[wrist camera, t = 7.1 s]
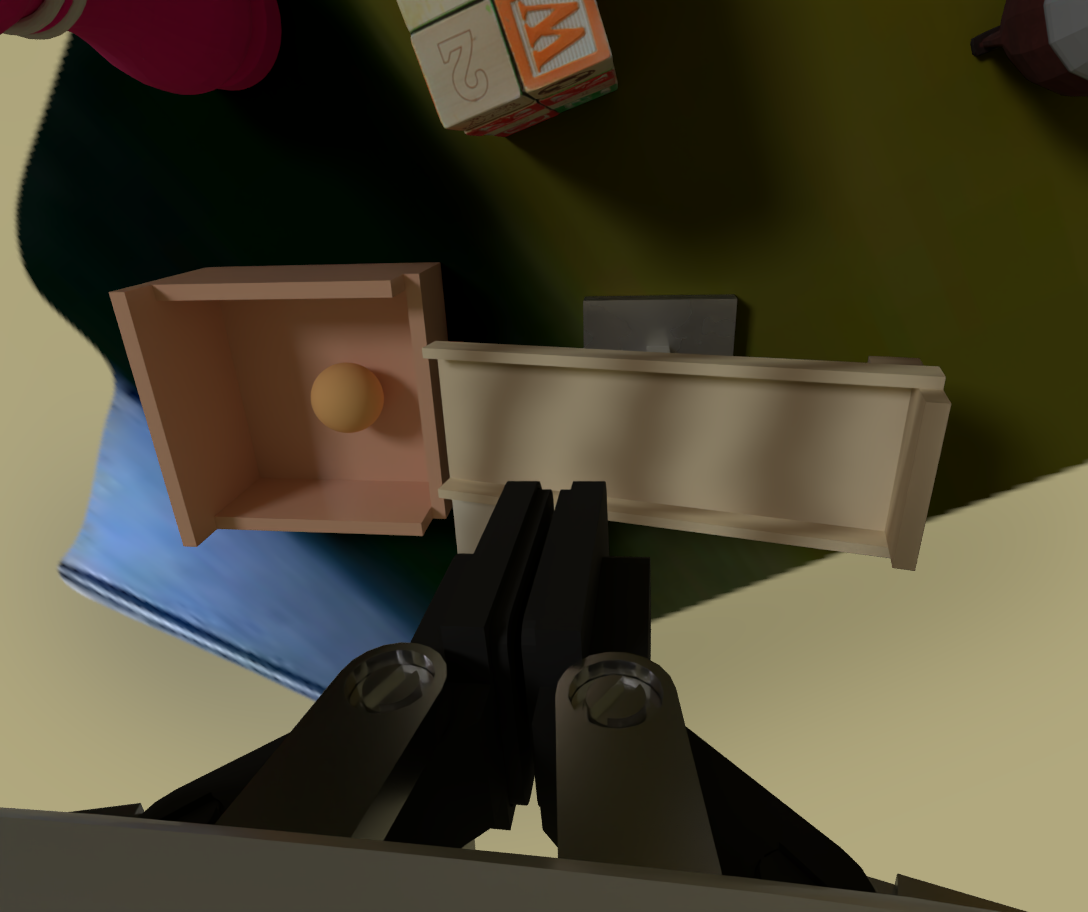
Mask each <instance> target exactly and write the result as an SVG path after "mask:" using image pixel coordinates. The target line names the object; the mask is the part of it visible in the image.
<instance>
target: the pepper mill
mask: <svg viewBox="0 0 1088 912" xmlns="http://www.w3.org/2000/svg"><path fill="white" fill-rule="evenodd" d="M66 31H69V32H72V33H74V34H76V35H77V36H79V37H81V38H82V39H83V40H85V41H86V42H87V43H88V44H90V45H91V46H92V47H93V48H94V49H95V50H96V51H98V52H99V53H100V54H101V55H102V56H103V57H104V58H105V59H106V60H108V61H109V62H110V63H111V64H112V65H113V66H115V67H117V68H118V69H120V70H121V71H123V72H125V73H126V74H128V75H130V76H131V77H133V78H135V79H137V80H138V81H140V82H142V83H144V84H146V85H149V86H152V87H155V88H158V89H161V90H164V91H168V92H172V93H177V94H182V95H194V94H201V93H205V92H209V91H212V90H214V89H216V88H217V89H223V90H232V91H233V90H242V89H246V88H249V87H251V86H253V85H255V84H257V83H258V82H260V81H261V80H262V79H263V78H264V77H265V76H266V75H267V74H268V72H269V71H270V70H271V68H272V67H273V65H274V63H275V61H276V58H277V55H278V52H279V49H280V44H281V17H280V12H279V8H278V4H277V1H276V0H0V34H2V33H4V34H9V35H17V36H21V37H25V38H28V39H51V38H53V37H56V36H59V35H61V34H63V33H64V32H66Z"/></svg>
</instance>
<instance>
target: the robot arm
mask: <svg viewBox="0 0 1088 912" xmlns="http://www.w3.org/2000/svg"><path fill="white" fill-rule="evenodd" d="M650 653H651V587H650V557H614V556H609V538H608V512H607V488H606V482H605V481H573V483H572V486H571V489H561V490H560V493H559V496H558V500H557V503H556V507H555V510H554V499H553V492H552V489H542V487H541V483H540V481H507V483H506V484H505V486H504V489H503V491H502V493H501V495H500V497H499V499H498V502H497V504H496V506H495V508H494V510H493V512H492V515H491V517H490V519H489V521H488V523H487V525H486V528H485V530H484V532H483V534H482V536H481V538H480V540H479V543H478V545H477V547H476V549H475V551H474V553H473V554H470V553H459V554H456V555H455V557H454V558H453V560H452V562H451V564H450V565H449V567H448V569H447V571H446V573H445V575H444V577H443V579H442V581H441V583H440V585H439V587H438V589H437V591H436V593H435V595H434V597H433V599H432V601H431V603H430V605H429V607H428V609H427V611H426V613H425V615H424V617H423V619H422V621H421V623H420V625H419V627H418V629H417V631H416V632H415V634H414V636H413V638H412V640H411V642H410V643H395V644H389V645H383V646H380V647H378V648H375V649H372V650H369V651H367V652H365V653H364V654H362V655H360V656H359V657H357V658H355V659H354V660H352V661H351V662H350V663H349V664H348V665H347V666H346V667H345V668H344V669H343V670H342V671H341V672H340V673H339V674H338V675H337V676H336V678H335V679H334V680H333V681H332V682H331V684H330V685H329V686H328V687H327V689H326V690H325V691H324V692H323V693H322V695H321V696H320V697H319V698H318V699H317V701H316V702H315V703H314V704H313V705H312V707H311V708H310V709H309V710H308V712H307V713H306V714H305V715H304V716H303V718H302V719H301V720H300V722H298V724H297V725H296V726H295V727H294V728H293V730H292V731H291V732H290V733H288V734H286V735H284V736H282V737H280V738H278V739H276V740H274V741H272V742H270V743H268V744H266V745H264V746H262V747H260V748H258V749H256V750H254V751H252V752H250V753H248V754H246V755H244V756H242V757H240V758H238V759H236V760H234V761H232V762H230V763H228V764H226V765H224V766H222V767H220V768H218V769H216V770H214V771H212V772H210V773H208V774H206V775H204V776H202V777H200V778H198V779H196V780H194V781H192V782H190V783H188V784H186V785H184V786H182V787H180V788H178V789H176V790H174V791H173V792H171V793H170V794H168V795H166V796H165V797H163V798H161V799H160V800H158V801H157V802H155V803H154V804H153V805H152V806H150V807H149V808H148V809H147V810H146V811H145V812H144V810H143V808H142V805H141V803H137V804H129V805H121V806H113V807H105V808H98V809H90V810H81V811H74V812H56V811H42V810H29V809H15V808H0V912H1026V911H1023V910H1019V909H1016V908H1013V907H1009V906H1006V905H1003V904H999V903H995V902H992V901H989V900H985V899H982V898H978V897H975V896H972V895H969V894H965V893H962V892H958V891H955V890H951V889H948V888H945V887H941V886H938V885H935V884H931V883H928V882H924V881H921V880H917V879H914V878H910V877H907V876H904V875H901V874H897V877H896V882H895V885H894V884H891V883H888V882H884V881H881V880H878V879H874V878H871V877H868V876H866V874H865V873H864V871H863V870H862V868H861V867H860V866H859V865H858V864H857V863H856V862H855V861H854V860H853V859H852V858H851V857H850V856H849V855H848V854H847V853H846V852H845V851H844V850H843V849H841V848H840V847H839V846H838V845H837V844H835V843H834V842H833V841H832V840H830V839H829V838H828V837H826V836H825V835H824V834H823V833H821V832H820V831H819V830H817V829H816V828H815V827H814V826H812V825H811V824H810V823H808V822H807V821H806V820H805V819H803V818H802V817H801V816H799V815H798V814H797V813H796V812H794V811H793V810H792V809H791V808H789V807H788V806H787V805H786V804H784V803H783V802H782V801H780V800H779V799H778V798H777V797H775V796H774V795H772V794H771V793H770V792H769V791H768V790H766V789H765V788H764V787H763V786H761V785H760V784H759V783H757V782H756V781H755V780H754V779H752V778H751V777H750V776H748V775H747V774H746V773H745V772H743V771H742V770H741V769H739V768H738V767H737V766H736V765H734V764H733V763H732V762H731V761H729V760H728V759H727V758H725V757H724V756H723V755H722V754H720V753H719V752H718V751H716V750H715V749H714V748H713V747H711V746H710V745H709V744H708V743H706V742H705V741H704V740H702V739H701V738H700V737H698V736H697V735H696V734H695V733H694V732H692V731H691V730H690V729H688V728H687V727H686V726H685V723H684V719H683V715H682V711H681V707H680V703H679V699H678V694H677V690H676V687H675V685H674V683H673V681H672V679H671V677H670V676H669V674H668V673H667V672H665V670H664V669H663V668H662V667H660V665H658V664H656V663H654V662H652V661H651V660H650V657H651V654H650ZM534 776H535V782H536V792H537V801H538V805H539V807H540V809H541V818H542V828H543V831H544V832H545V833H546V834H547V835H548V837H549V838H550V839H551V840H552V841H553V842H554V844H555V845H556V846H557V847H558V858H551V857H540V856H531V855H522V854H512V853H511V854H510V853H501V852H491V851H480V850H475V840H474V839H475V838H477V837H478V836H480V835H481V834H483V833H484V832H485V831H487V830H489V829H490V828H492V829H502V830H511V825H512V821H513V816H514V811H515V807H516V805H528V803H529V801H530V796H531V791H532V786H533V781H534Z"/></svg>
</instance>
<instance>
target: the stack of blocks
mask: <svg viewBox="0 0 1088 912" xmlns="http://www.w3.org/2000/svg"><path fill="white" fill-rule="evenodd" d="M397 2H398V5H399V8H400V10H401V13H402V16H403V18H404V21H405V24H406V26H407V28H408V30H409V31H410V33H411V43H412V46H413V48H414V51H415V54H416V56H417V59H418V62H419V64H420V67H421V70H422V73H423V75H424V78H425V81H426V84H427V86H428V89H429V92H430V94H431V97H432V100H433V103H434V105H435V108H436V111H437V113H438V116H439V119H440V121H441V123H442V125H443V127H444V128H445V129H449V130H460V131H462V130H464V131H465V133H466V135H470V136H471V135H473V136H475V135H476V136H482V135H494V136H498V137H499V136H501V137H506V136H509V135H511V134H513V133H516V132H518V131H521V130H523V129H526V128H528V127H530V126H533V125H535V124H538V123H540V122H542V121H545V120H547V119H549V118H552V117H554V116H557V115H558V114H560V113H561V112H563V111H566V110H568V109H571V108H573V107H576V106H578V105H581V104H583V103H586V102H588V101H590V100H593V99H595V98H598V97H600V96H603V95H605V94H607V93H610V92H613V91H615V90H617V89H618V81H617V77H616V72H615V67H614V64H613V58H612V53H611V50H610V46H609V42H608V39H607V36H606V32H605V29H604V26H603V22H602V19H601V16H600V13H599V9H598V6H597V5H598V4H597V0H397Z"/></svg>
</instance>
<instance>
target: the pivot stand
mask: <svg viewBox="0 0 1088 912" xmlns="http://www.w3.org/2000/svg"><path fill="white" fill-rule="evenodd" d="M736 310H737V298H736V296H735V295H734V294H732V295H662V296H592V297H585V298H584V300H583V313H584V348H585V349H604V350H624V351H643V352H663V353H682V354H702V355H721V356H733V349H734V336H735V323H736Z"/></svg>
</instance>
